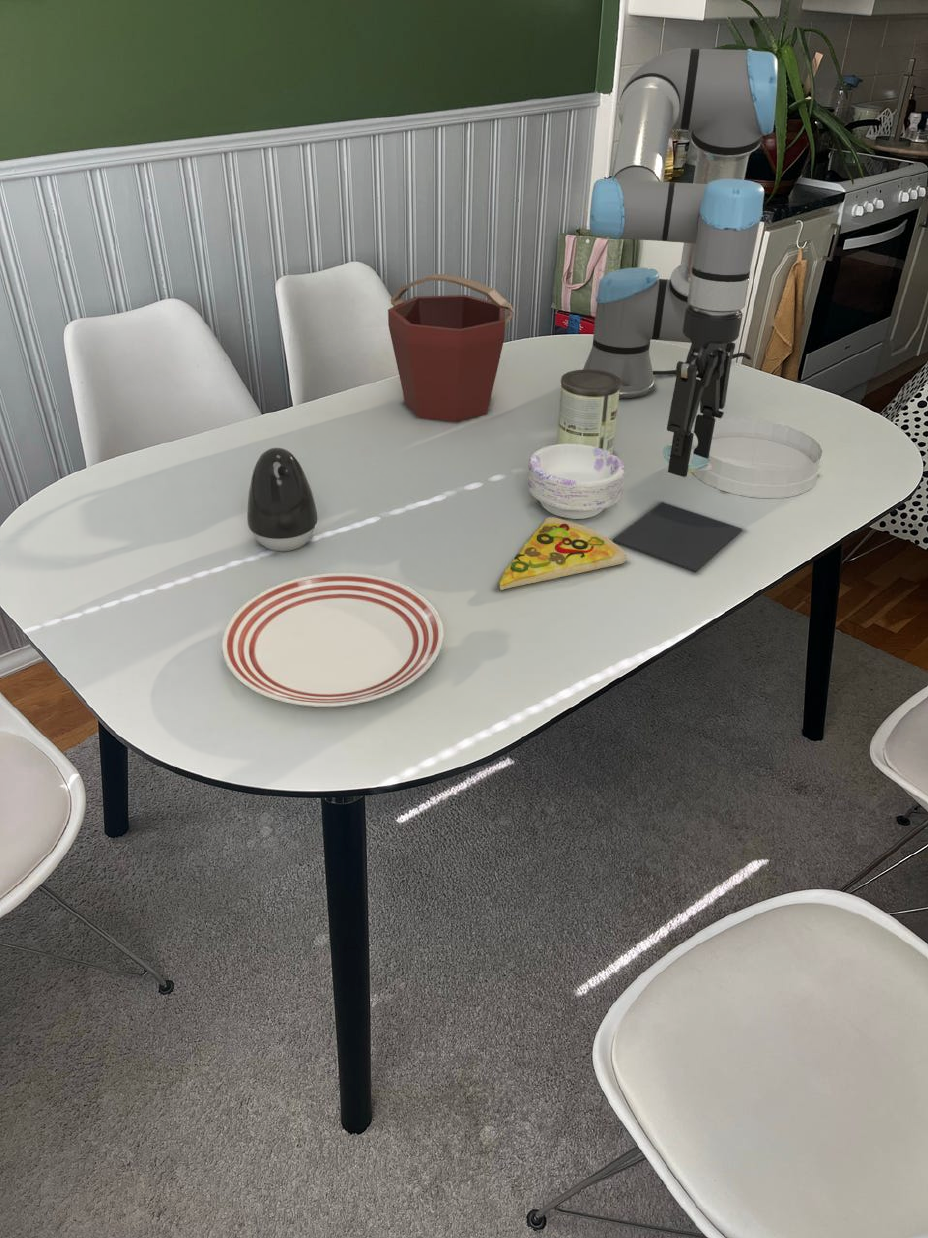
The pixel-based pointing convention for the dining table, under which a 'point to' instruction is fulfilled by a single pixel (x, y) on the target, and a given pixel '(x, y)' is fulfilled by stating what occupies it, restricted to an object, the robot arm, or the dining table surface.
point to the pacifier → (691, 458)
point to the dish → (761, 459)
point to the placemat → (678, 536)
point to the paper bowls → (575, 479)
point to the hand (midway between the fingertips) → (688, 465)
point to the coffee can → (588, 408)
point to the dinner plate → (332, 639)
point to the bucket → (448, 349)
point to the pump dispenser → (280, 502)
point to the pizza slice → (560, 553)
